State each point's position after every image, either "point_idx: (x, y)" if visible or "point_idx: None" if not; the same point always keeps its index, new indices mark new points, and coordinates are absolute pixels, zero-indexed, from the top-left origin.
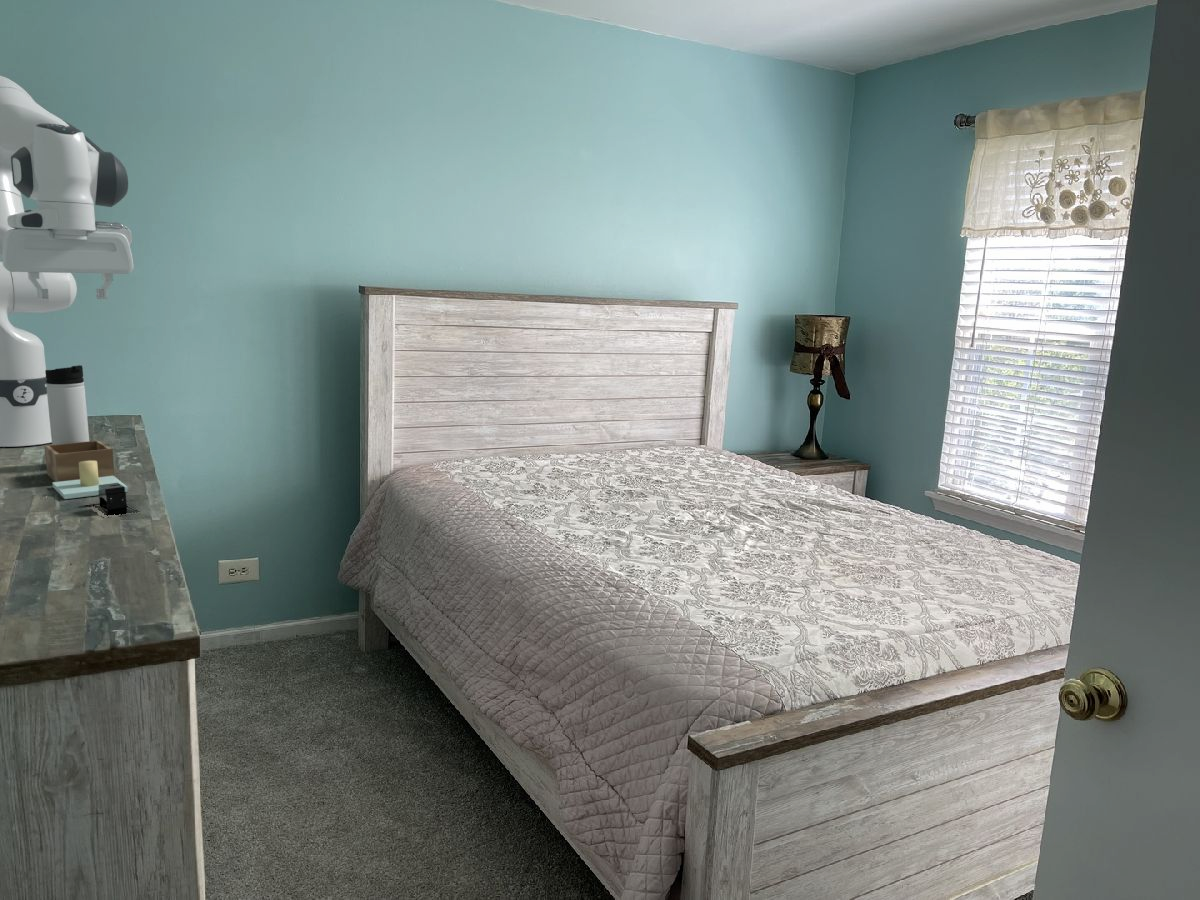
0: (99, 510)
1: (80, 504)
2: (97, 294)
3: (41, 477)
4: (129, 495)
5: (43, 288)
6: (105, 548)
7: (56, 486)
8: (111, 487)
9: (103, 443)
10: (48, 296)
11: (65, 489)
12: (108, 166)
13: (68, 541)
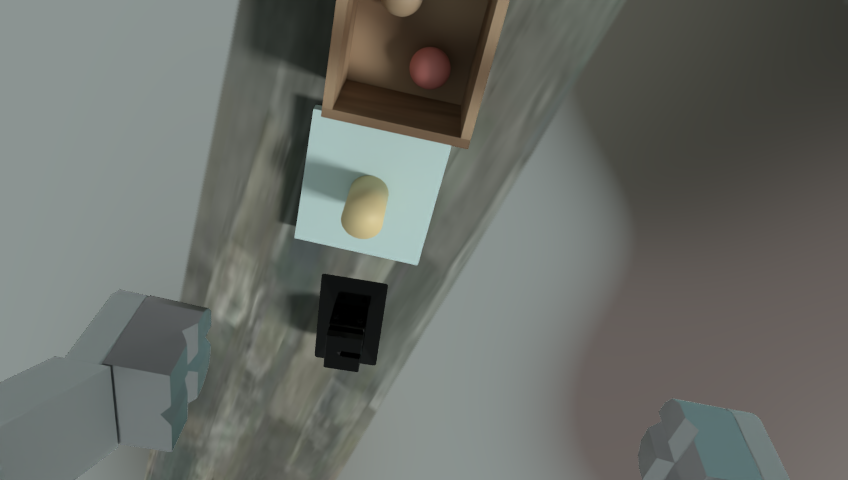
0: (325, 319)
1: (319, 252)
2: (679, 439)
3: None
4: None
5: (138, 394)
6: (263, 462)
7: (306, 156)
8: (337, 364)
9: (495, 46)
10: (201, 386)
11: (311, 198)
12: None
13: (234, 414)
